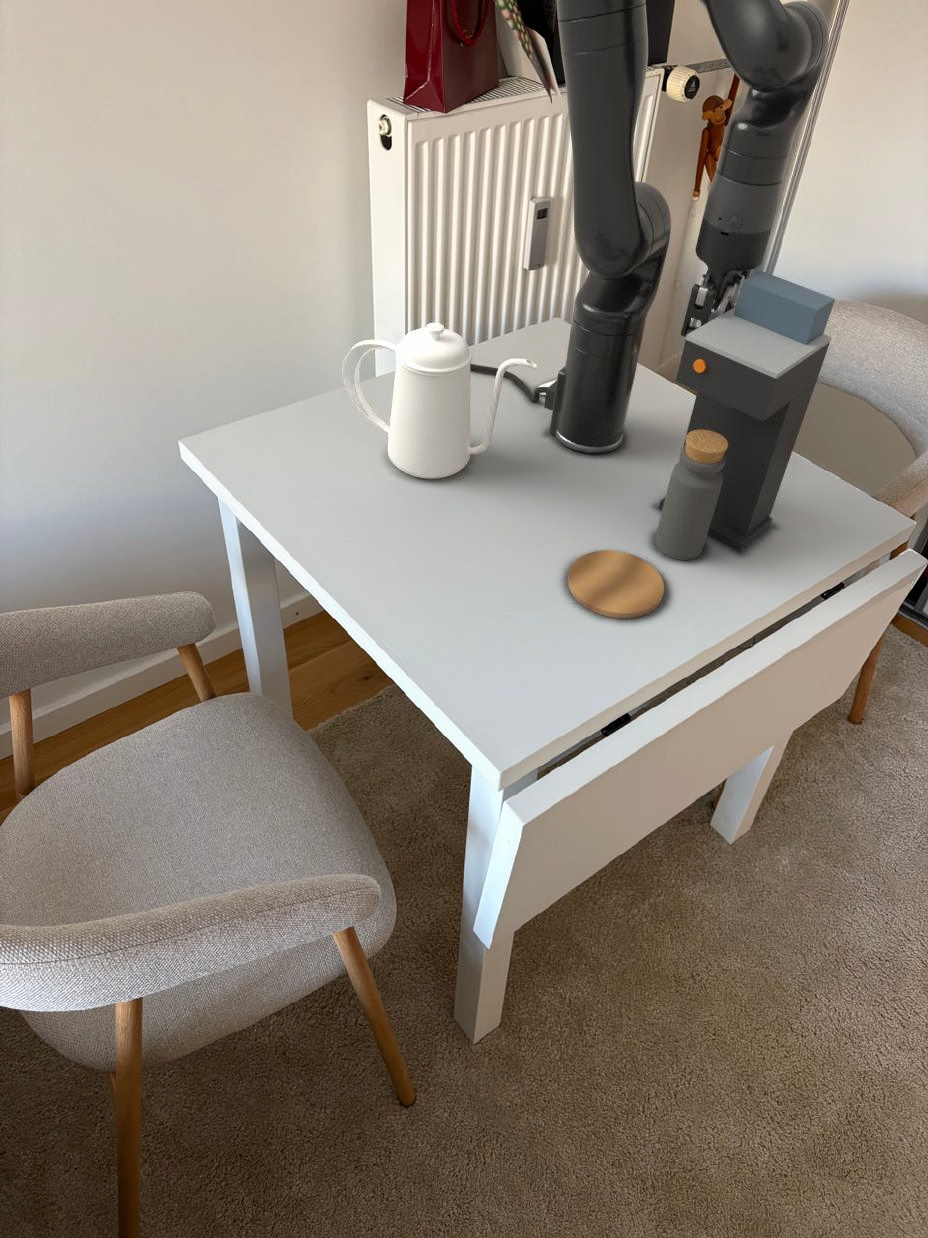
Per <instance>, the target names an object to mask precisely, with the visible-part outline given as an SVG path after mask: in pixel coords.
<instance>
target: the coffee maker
mask: <svg viewBox="0 0 928 1238" xmlns="http://www.w3.org/2000/svg"><path fill="white" fill-rule="evenodd" d="M835 301H836V298H834V297H831V296H830V295H829V296H828V295H826V294H823V293H821V292H818V291H815V290H813V289H811V288H808V287H805V286H802V285H800V284H798V283H794V282H792V281H789V280H787V279H784V278H781V277H779V276H777V275H774V274H772V273H769V272H766V271H764V270H763V271H762V270H759V271H758V272H756V273H754V274H753V275H751V276H749V278H747V279H745V280H743V283H742V286H741V290H740V294H739V297H738V301H737V305H736V307H734V308H732V309H731V310H729V311H727V312H725V313H724V314H722V315H720V316H718V317H717V318H715V319H713V320H711V321H710V322H708V323H706V324H704V325H703V326H701V325H700V326H701V327H700V326H698V327H699V328H697V329H696V330H694V331H692V332H691V333H689V334H687V336H686V337H685V340H684V345H683V349H682V354H681V357H680V362H679V366H678V371H677V374H676V378H675V382H676V383H679V384H680V385H683V386H685V387H688V388H689V389H692V390H694V391H696V395H695V399H694V404H693V406H692V411H691V415H690V419H689V423H688V427H687V431H686V435H685V438H684V442H683V446H685V445H686V436H687V434H688V433H689V432H691V431H694V430H700V429H703V430H710V431H714V432H717V433H719V434H721V435H722V436H724V437H725V438H726V440H727V441H728V448H727V450H726V452H725V453H724V454H725V456H726V461H725V465H724V467H723V469H722V470H720V471H721V472H722V474H723V483H722V487H721V490H720V493H719V497H718V500H717V504H716V507H715V511H714V514H713V517H712V521H711V524H710V527H709V530H708V534H707V536H710V537H712V538H714V539H716V540H717V541H719V542H721V543H723V544H725V545H727V546H728V547H731V548H732V549H734V550H736V551H737V552H742V551H743V550H744V549H745V548H746V547H747V546H749V545H750V544H751V543H752V542H753V541H755V540H756V539H757V538H758V537H760V535H762V534H763V533H764V532H765V531H766V530H767V529H769V528H771V525H772V524H773V523H772V522H773V520H774V519H773V517H771V514H772V512H773V511H772V510H773V508H774V506H775V502H776V500H777V496H778V493H779V491H780V489H781V485H782V482H783V479H784V476H785V473H786V470H787V468H788V465H789V462H790V460H791V456H792V454H793V451H794V447H795V444H796V442H797V439H798V436H799V433H800V430H801V428H802V424H803V422H804V419H805V416H806V413H807V410H808V408H809V404H810V401H811V399H812V396H813V393H814V391H815V390H814V389H815V387H816V384H817V381H818V379H819V375H820V373H821V370H822V367H823V364H824V361H825V358H826V355H827V352H828V350H829V347H830V344H831V341H832V336H830V335H828V334H826V333H825V330H826V328H827V324H828V322H829V319H830V316H831V313H832V310H833V307H834V304H835ZM678 462H680V460H679V461H678ZM664 501H665V497H663V498H662V499H661V500H660V501H659V504H658V509H660V510H661V511H662V509H663V505H664Z"/></svg>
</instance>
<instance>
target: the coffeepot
mask: <svg viewBox="0 0 928 1238" xmlns="http://www.w3.org/2000/svg"><path fill="white" fill-rule="evenodd" d="M362 346H363V347H364V346H371V347H369V348H368V349H366V351H365V352H364V353H363V354H362V356H361V357H360V358H359V359H358V361H357V363H356V366H355V370H354V378H353V381H354V382H353V383H354V388H353V386H352V384H351V381H350V378H349V372H348V361H349V357H350V355H351V352H352V351H354V350H355V349H357V348H359V347H362ZM376 350H387V351H390V352H394V353H395V374H394V382H393V390H392V391H393V392H392V402H391V411H390V412H391V413H390V421H389V425H388V424H386V421H384V420H382V419H381V418H380V417H379V416H378V415H377V414H376V413H375V412H374V410H373V409H372V408H371V407H370V405H369V403H368V401H367V400H366V398H365V396H364V394H363V391H362V387H361V382H360V381H361V380H360V373H361V372H360V370H361V365H362V362H363V360H364V357H365V356H366V355H368V354H369V353H371V352H373V351H376ZM472 351H473V350H472V349H471V348H470V347H469V345H468V343H467V341H466V340H465V338H464V337H463V336H462V335H460V334H459V333H457V332H455V331H453V330H451V329H447V328H445V326H444V324H442V323H440V322H430V323H428V324H426V327H420V328H417V329H414V330H411V331H409V332H408V333H407V334H405V335H404V336H403V338H402V339H401V341H400V342H399V343H398V344H395V343H393V342H391V341H386V340H381V339H365V340H362V341H359V342H358V343H356V344H354V345H353V346H352V347H351V348H350V350H349V351H348V352H347V353H346V354H345V356H344V358H343V360H342V365H341V375H342V380H343V384H344V387H345V390H346V392H347V394H348V397H349V398H350V400H351V401H352V403H353V404H354V406H355V407H356V408H357V409H358V410H359V412H360V413H361V415H363V416H364V417H365V418H366V419H367V420H369V422H371V423H372V424H373V425H375V426H376V427H377V428H379V429H381V430H382V431H384V432H385V433H386V434H387V436H388V437H387V455H388V458H389V460H390V462H391V463H392V464H393V466H395V467H396V468H397V469H398V470H400V471H401V472H402V473H405V474H407V475H409V476H413V477H417V478H419V479H420V478H421V479H442V478H446V477H449V476H453V475H455V474H457V473H458V472H460V471H461V470H463V469H464V468H465V467H466V466H467V465H468V463H469V461H470V458H471V455H478V454H481V453H482V452H484V451H485V450H486V449H487V448H488V447H489V445H490V443H491V441H492V436H493V432H494V427H495V421H496V416H497V410H498V405H499V401H500V395H501V389H502V384H503V380H504V377H505V376H504V373H505V371H508V369H509V368H512V367H525V368H530V369H531V368H532V369H536V370H537V369H538V368H539V367H538V365H537V364H536V363H535V362H534V361H532V360H530V359H528V358H520V357H519V358H509V359H507V360H505V361H504V362H502V363H501V364H500V365H499V367H498V371H497V374H495V375H496V376H495V378H494V379H495V380H494V385H493V390H492V395H491V400H490V406H489V412H488V417H487V423H486V427H485V433H484V437H483V440H482V442H481V443H480V444H479V445H478V446H471V443H472V442H471V440H472V439H471V435H472V434H471V369H470V364H472V362H473V352H472ZM354 389H355V390H354Z"/></svg>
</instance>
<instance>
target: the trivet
mask: <svg viewBox="0 0 928 1238" xmlns="http://www.w3.org/2000/svg"><path fill="white" fill-rule="evenodd" d="M567 584H568V588H569V591H570V593H571V595H572V596H573V597H574V599H575V600H576V601H577V602H578V603H579V604H581V605H582V606H583V607H585V608H586V609H587V610H590V611H592V612H594V613H596V614H598V615H601V616H605V617H609V618H613V619H633V618H639V617H642V616H643V617H644V616H645V615H648V614H650V613H651V612H653V611H654V610H655V609H657V607H659V605H660V603H662V601H663V596H664V594H665V583H664V579H663V577H662V576H661V574H660V572H659V571H658V570H657V569H656V568H655V566H653V565H652V564H651V563H650V562H648V561H646V560H645V559H643V558H641V557H639V556H637V555H634V554H631V553H629V552H624V551H619V550H607V549H606V550H598V551H596V550H595V551H592V552H589V553H585V554H583V555H582V556H580V557H578V558H577V559H576V560H575V561H574V562H573V563H572V565H571V566H570V569H569V571H568V576H567Z"/></svg>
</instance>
